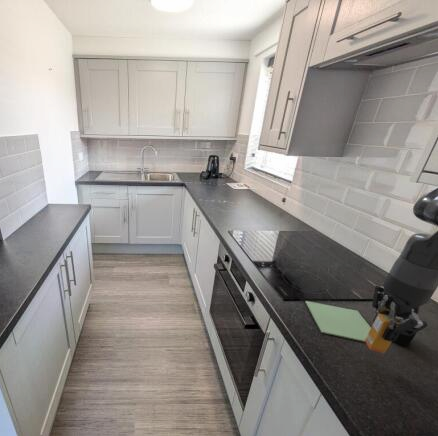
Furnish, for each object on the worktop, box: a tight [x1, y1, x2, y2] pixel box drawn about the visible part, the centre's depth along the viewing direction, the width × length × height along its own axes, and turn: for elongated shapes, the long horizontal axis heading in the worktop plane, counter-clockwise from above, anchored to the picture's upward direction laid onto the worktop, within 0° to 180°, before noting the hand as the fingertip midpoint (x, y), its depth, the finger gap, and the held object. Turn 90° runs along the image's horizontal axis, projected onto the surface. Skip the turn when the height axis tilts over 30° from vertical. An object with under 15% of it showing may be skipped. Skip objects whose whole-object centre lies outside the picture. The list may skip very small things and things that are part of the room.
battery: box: [393, 313, 420, 347], centre depth 68 cm, size 4×7×10 cm, turn 141°
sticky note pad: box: [305, 300, 372, 343], centre depth 75 cm, size 16×14×1 cm
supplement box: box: [364, 313, 399, 354], centre depth 60 cm, size 3×3×10 cm
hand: (382, 332), depth 60 cm, fingers closed on supplement box, 3 cm apart
